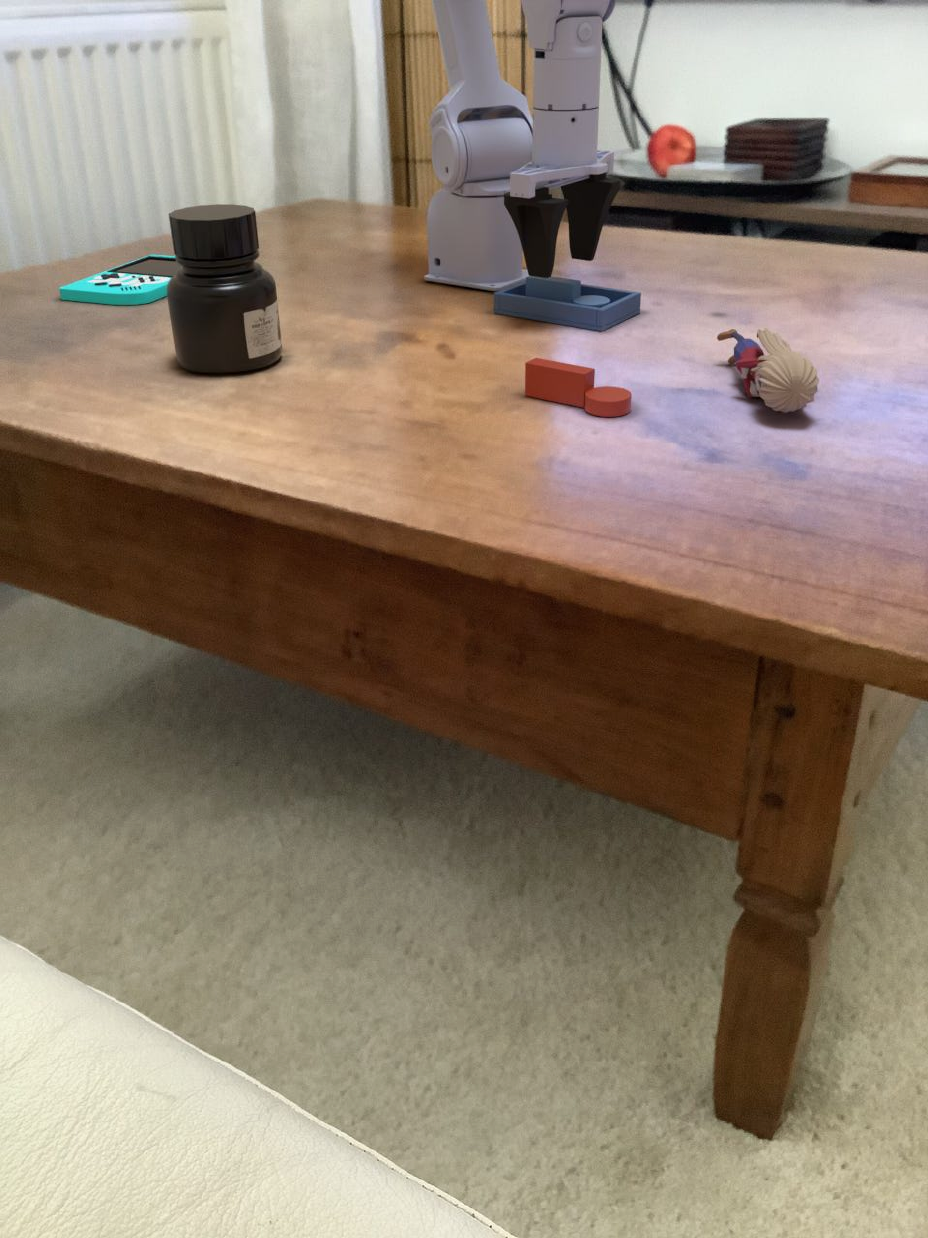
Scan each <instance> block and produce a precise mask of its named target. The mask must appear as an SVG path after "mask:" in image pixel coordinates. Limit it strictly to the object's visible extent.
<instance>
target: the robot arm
mask: <svg viewBox="0 0 928 1238" xmlns="http://www.w3.org/2000/svg"><path fill="white" fill-rule="evenodd" d="M430 1H431V7H432V11H433V16H434V20H435V25H436V30H437V35H438V41H439V45H440V50H441V55H442V59H443V64H444V70H445V73H446V79H447V84H448V88H449V91H448V92H447V93H446V94H445V95H444V97H443V98H442V99H441V100H440V101H439V102H438V103H437V105H436V106H435V107H434V109H433V111H432V112H431V115H430V117H429V120H428V121H429V129H430V136H431V137H430V139H431V145H430V157H431V164H432V168H433V172H434V175H435V176H436V177H435V178H436V179H437V180H438V181H439V183H440V184H441V185H442V186H443V187H442V188H440V189H438V190H437V191H436V192H435V193H434V194H433V195H432V197H431V199H430V202H429V204H428V208H427V213H426V215H427V216H426V233H427V235H426V237H427V259H428V260H427V263H428V264H427V265H428V273H427V274H424V276H423V278H424V281H427V282H432V283H433V282H434V283H439V284H446V285H453V286H458V287H459V286H460V287H466V288H472V289H477V290H484V291H490V292H498V291H500V290H503V289H506V288H508V287H511V286H513V285H516V284H518V283H521V282H524V281H526V277H528V276H535V277H541V278H549V277H551V276H552V274H553V271H554V266H555V259H556V250H557V241H558V236H559V230H560V226H561V222H562V219H563V217H564V213H565V211H566V215H567V222H568V223H567V224H568V239H569V240H568V241H569V242H568V243H569V251H570V257H571V259H572V260H578V261H579V260H580V261H585V262H586V261H587V262H591V261H594V259H595V256H596V253H597V249H598V246H599V242H600V238H601V234H602V230H603V227H604V224H605V222H606V218H607V215H608V213H609V211H610V209H611V206H612V204H613V202H614V200H615V198H616V196H617V195H618V193H619V192H620V190H621V185H622V184H621V183H622V180H621V179H620V178H618V177H608V176H609V175H612V174H614V164H615V160H614V158H615V151H610V150H599V149H598V145H599V144H598V142H599V141H598V140H599V118H600V98H601V97H600V92H601V69H602V45H603V43H602V42H603V23H605V22H606V21H607V20H608V19H609V18H610V17H611V15H612V13H613V12H614V10H615V7H616V4H617V1H618V0H520V2H521V7H522V11H523V14H524V16H525V20H526V29H527V30H526V37H527V38H526V41H528V47H529V48H530V49H533V66H532V67H533V72H532V73H533V76H532V77H533V78H532V82H533V83H532V84H533V85H532V115H531V110H530V107H529V103H528V99H527V97H526V96H525V95H524V94H523V93H521V92H520V91H519V90H518V89H516V88H515V87H513V86H512V85H511V84H509V83H508V82H506V80H504V79H503V78H502V77H501V71H500V67H499V62H498V61H499V60H498V57H497V52H496V47H495V42H494V37H493V32H492V31H493V30H492V26H491V22H490V21H491V20H490V17H489V13H488V7H487V6H488V5H487V2H486V0H430ZM556 188H560V189H561V193H562V196H563V198H557V197H553V194H552V193H550V190H552V189H556ZM523 258H524V262H525V266H526V269H525V268H523Z"/></svg>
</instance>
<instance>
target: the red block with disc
mask: <svg viewBox="0 0 928 1238" xmlns="http://www.w3.org/2000/svg"><path fill="white" fill-rule="evenodd" d="M595 372H596V369H595V368H593V367H587V366H583V365H577V364H571V363H566V362H561V361H555V360H551V359H545V358H541V357H534V358H531V359H529V360H527V361H525V363H524V396H526V397H530V398H535V399H540V400H545V401H548V402H549V401H550V402H554V403H558V404H564V405H568V406H573V407H578V408H583V409H584V411H585V412H586V413H588V414H589V415H593V416H596V417H603V418H615V417H621V416H624V415H627V414H629V413H630V412H631V410H632V395H633V394H632V392H631V391H630V390H628V389H627V388H623V387H619V386H612V385H611V386H608V385H605V386H603V385H602V386H595V378H596V377H595V375H596V374H595Z"/></svg>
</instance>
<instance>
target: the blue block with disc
mask: <svg viewBox="0 0 928 1238" xmlns="http://www.w3.org/2000/svg"><path fill="white" fill-rule="evenodd" d="M581 284H582V280H579V279H572V278H565V277H559V276H552V275H551V277H549V278H541V277H535V276H528V277H526V296H527V297H534V298H540V299H546V300H553V301H559V302H565V303H572V304H578V305H584V306H591V307H597V308H602V307H604V306H606V305H608V304H610V299H609V298H607V297H603V296H597V295H586V296H580V293H581Z"/></svg>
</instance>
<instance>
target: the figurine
mask: <svg viewBox="0 0 928 1238" xmlns="http://www.w3.org/2000/svg"><path fill="white" fill-rule="evenodd" d="M757 329H758V330H757V333H756V338H757V339H758V340H759V342H760V344H761V346H762V347H763V348H764V350H765V351H766V352H767V354H765V353H764V350H763V349H762V348H761V346H760V345H759V344H758V343H757V342H756V341H755V340H753V339H751V338H745V337H744V336H743V335H742V334H740V333H739V332H738V330H736V329H734V328H732V329H729V330H726V331H722V332H720V333H718V335H717V336H716V339H717V341H718V342H721V341H725V340H728V339H729V340H730V339H735V340H736V341H737V343H736V344H735V345H734V347H733V355H731V356H730V357H729V358H728V359H727V363H728V364H729V365H734V364H735V367H736V369H737V371H738V372H739V373H740V375H741V377H742V381H743V385H744V389H745V393H746V395H747V397H748V398H761V399H762V400H763V403H764V404H765V406H766V407H769V408H771V409H772V410H773V411H775V412H782V413H784V414H785V413H786V414H787V413H789V412H791V413H793V412H796V411H797V410H801V409H802V408H806V407H807V404H810V403H813V402H814V401H815V395H816V394H817V393H818V392H819V390H818V384H819V382H820V379H819V378H818V370H817V369H816V368H815V366H813V363H812V361H811V360H810V359H809V358H807V357H805V356H803V355H802V354H801V353H800V352H797V351H794V350H792V348H791V344H790V343H788V342H787V341H785V340H783V338H782V336H780V334H779V333H778V332H772V331H771V330H769V329H768V328H764V329H763V330H762V329H761V328H757Z"/></svg>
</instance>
